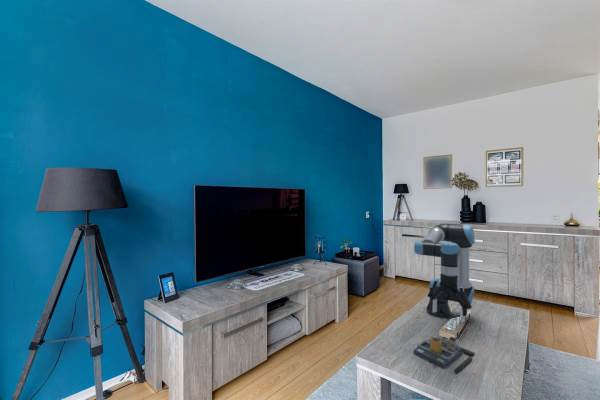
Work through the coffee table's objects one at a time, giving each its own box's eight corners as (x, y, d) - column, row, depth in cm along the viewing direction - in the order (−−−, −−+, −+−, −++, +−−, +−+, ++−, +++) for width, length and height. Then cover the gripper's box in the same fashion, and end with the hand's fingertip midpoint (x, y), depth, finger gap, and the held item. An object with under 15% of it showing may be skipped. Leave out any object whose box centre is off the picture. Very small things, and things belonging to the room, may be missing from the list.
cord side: (468, 359, 140) (468, 356, 140) (472, 360, 139) (472, 357, 138) (453, 372, 130) (453, 369, 130) (457, 374, 128) (457, 370, 128)
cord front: (434, 338, 160) (434, 335, 160) (474, 354, 144) (474, 351, 143) (431, 339, 158) (431, 337, 158) (472, 357, 141) (472, 354, 141)
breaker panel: (431, 341, 156) (432, 326, 156) (462, 354, 144) (462, 338, 143) (413, 353, 145) (413, 337, 145) (444, 369, 132) (445, 351, 132)
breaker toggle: (433, 348, 146) (434, 336, 146) (441, 352, 143) (441, 339, 142) (430, 351, 143) (430, 338, 143) (437, 354, 140) (438, 342, 140)
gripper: (421, 269, 145) (420, 309, 145) (473, 282, 125) (472, 328, 125) (428, 267, 149) (427, 306, 150) (480, 279, 129) (479, 324, 130)
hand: (448, 316), depth 138 cm, fingers open, 13 cm apart
